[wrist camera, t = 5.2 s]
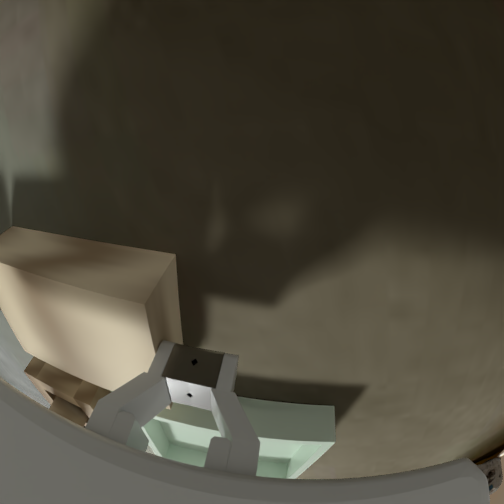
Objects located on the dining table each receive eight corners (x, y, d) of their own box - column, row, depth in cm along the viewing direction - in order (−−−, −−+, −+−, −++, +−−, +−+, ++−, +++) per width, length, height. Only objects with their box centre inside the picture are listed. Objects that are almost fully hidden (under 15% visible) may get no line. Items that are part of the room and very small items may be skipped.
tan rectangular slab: (177, 252, 10) (144, 304, 8) (186, 363, 14) (170, 409, 12) (14, 224, 11) (-23, 253, 8) (48, 320, 15) (25, 351, 12)
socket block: (103, 378, 17) (89, 405, 15) (126, 418, 20) (117, 440, 18) (38, 350, 17) (23, 371, 15) (67, 393, 21) (57, 412, 19)
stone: (506, 453, 26) (505, 493, 18) (488, 463, 29) (486, 501, 21) (468, 455, 29) (465, 500, 21) (449, 464, 32) (445, 507, 24)
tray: (334, 405, 15) (335, 441, 13) (292, 459, 21) (290, 482, 19) (138, 373, 15) (124, 405, 13) (166, 438, 22) (159, 460, 19)
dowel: (90, 383, 18) (44, 484, 9) (102, 402, 20) (63, 493, 11) (61, 371, 18) (13, 462, 10) (74, 390, 20) (34, 474, 11)
